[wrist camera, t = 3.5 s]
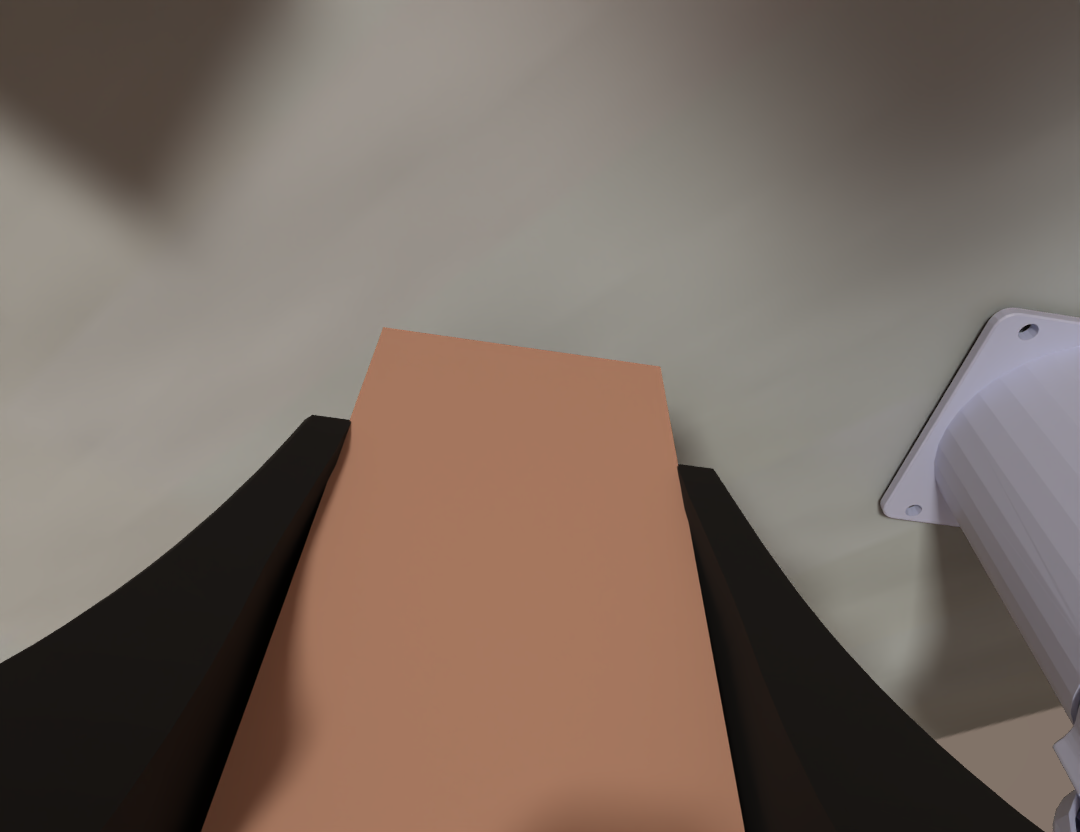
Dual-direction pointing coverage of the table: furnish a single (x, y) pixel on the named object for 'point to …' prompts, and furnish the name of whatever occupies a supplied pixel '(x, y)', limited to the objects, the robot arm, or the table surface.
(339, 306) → the table surface
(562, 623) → the domino
